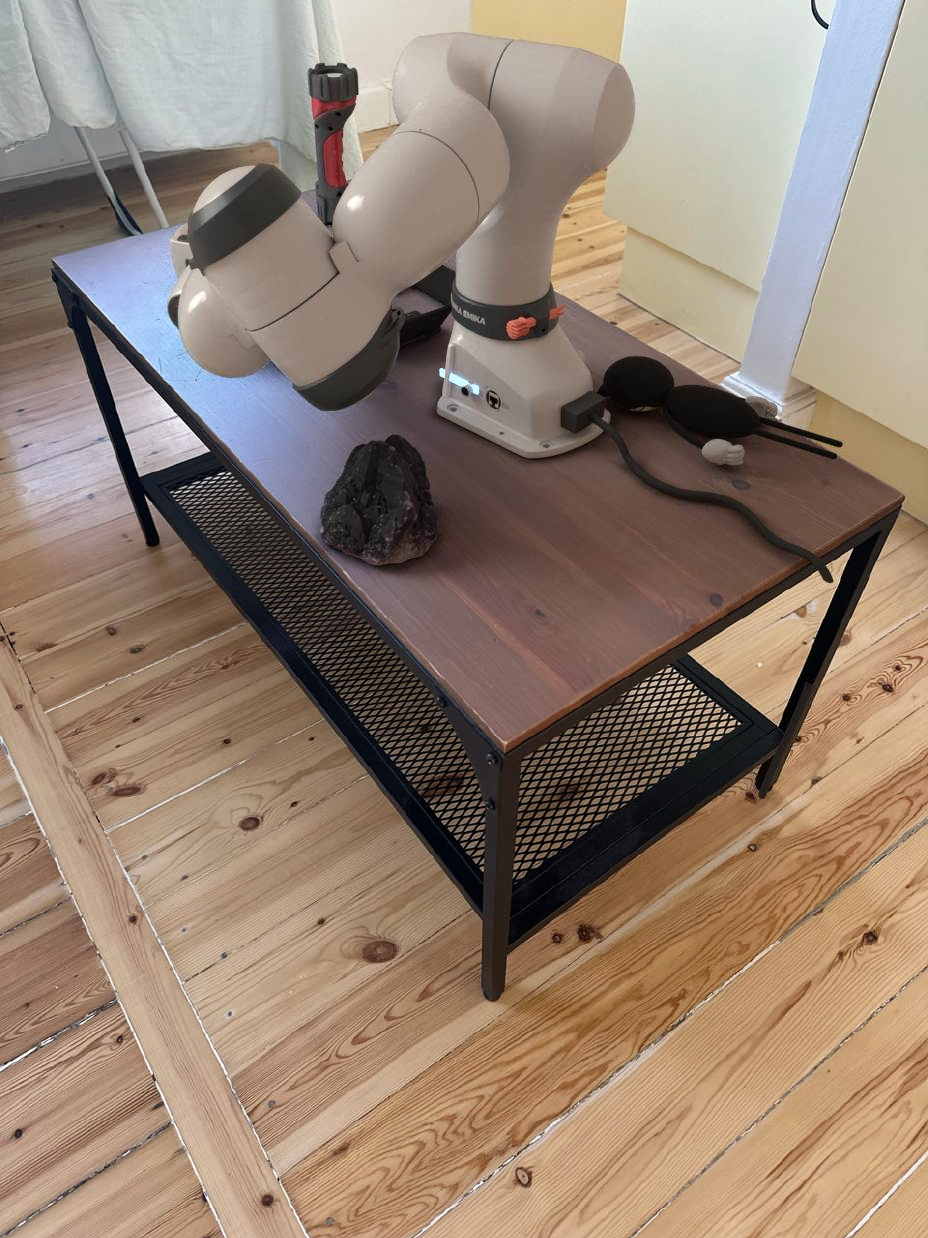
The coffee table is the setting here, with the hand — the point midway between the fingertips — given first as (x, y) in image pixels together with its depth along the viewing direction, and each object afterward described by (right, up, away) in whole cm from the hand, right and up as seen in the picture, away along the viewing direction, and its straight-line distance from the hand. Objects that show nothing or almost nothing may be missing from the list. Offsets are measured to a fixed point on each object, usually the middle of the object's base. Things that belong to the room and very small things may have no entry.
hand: (263, 225), depth 137 cm
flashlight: (+9, +8, +19) cm, 23 cm away
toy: (+72, -40, -33) cm, 89 cm away
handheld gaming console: (+21, -20, -9) cm, 31 cm away
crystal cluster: (+20, -49, -38) cm, 65 cm away
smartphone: (+26, -8, +2) cm, 28 cm away
